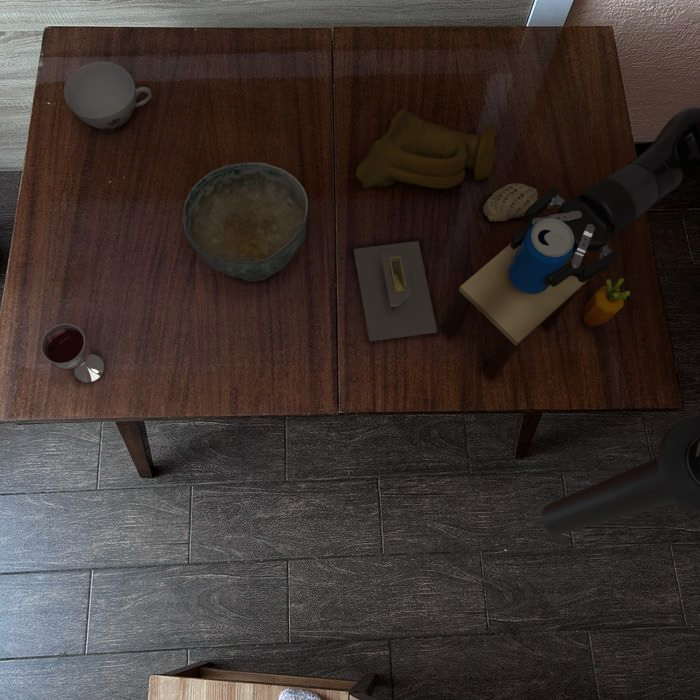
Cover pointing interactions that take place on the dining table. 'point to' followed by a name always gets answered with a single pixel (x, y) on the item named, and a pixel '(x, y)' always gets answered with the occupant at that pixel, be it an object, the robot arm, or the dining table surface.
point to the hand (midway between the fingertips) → (529, 263)
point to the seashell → (509, 202)
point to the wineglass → (71, 352)
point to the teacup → (103, 94)
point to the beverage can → (541, 255)
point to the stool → (509, 305)
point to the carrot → (604, 304)
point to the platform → (394, 291)
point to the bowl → (246, 219)
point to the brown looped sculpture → (426, 154)
